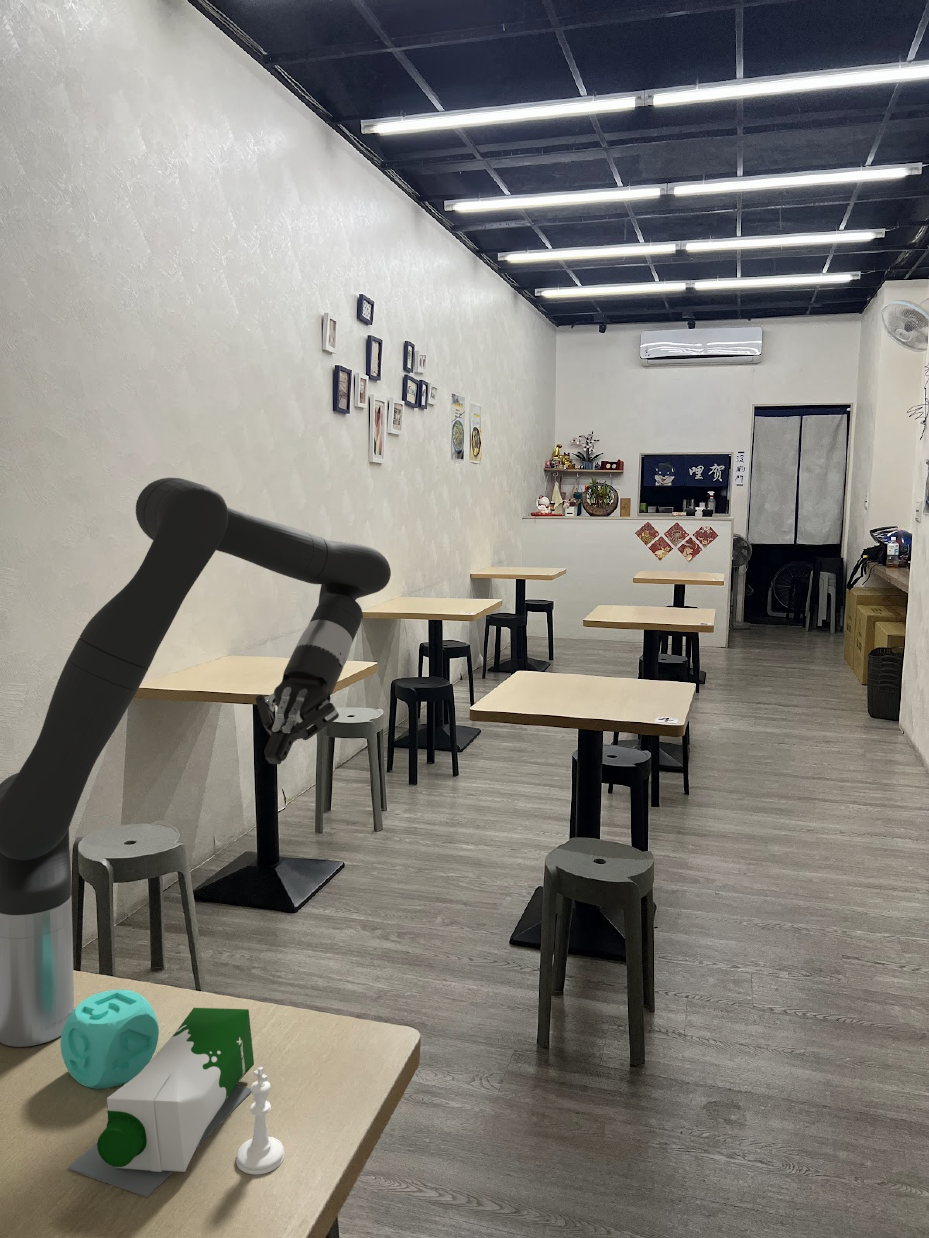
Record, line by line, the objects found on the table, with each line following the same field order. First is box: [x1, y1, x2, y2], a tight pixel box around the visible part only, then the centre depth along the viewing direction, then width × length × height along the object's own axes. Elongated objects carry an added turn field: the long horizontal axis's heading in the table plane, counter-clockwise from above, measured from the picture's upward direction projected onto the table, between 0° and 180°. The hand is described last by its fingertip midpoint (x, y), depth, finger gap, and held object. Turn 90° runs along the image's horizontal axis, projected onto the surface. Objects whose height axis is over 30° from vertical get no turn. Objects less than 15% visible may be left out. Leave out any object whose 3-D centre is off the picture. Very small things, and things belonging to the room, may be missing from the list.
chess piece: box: [235, 1066, 285, 1176], centre depth 94 cm, size 5×5×10 cm
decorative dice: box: [60, 989, 160, 1090], centre depth 108 cm, size 8×8×8 cm
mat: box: [67, 1084, 252, 1198], centre depth 98 cm, size 10×18×1 cm, turn 159°
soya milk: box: [96, 1007, 255, 1173], centre depth 98 cm, size 9×9×20 cm
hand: (272, 760), depth 121 cm, fingers closed
